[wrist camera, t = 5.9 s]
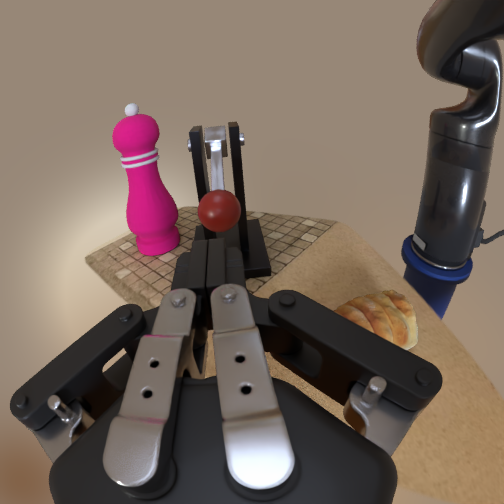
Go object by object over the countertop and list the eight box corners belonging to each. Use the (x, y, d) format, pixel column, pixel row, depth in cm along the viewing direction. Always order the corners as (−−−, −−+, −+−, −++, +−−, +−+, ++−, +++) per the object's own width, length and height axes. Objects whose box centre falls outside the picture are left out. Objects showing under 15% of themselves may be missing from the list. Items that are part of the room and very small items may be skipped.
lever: (243, 238, 25) (241, 210, 22) (201, 242, 24) (194, 215, 21) (232, 145, 32) (230, 120, 29) (201, 149, 32) (197, 124, 29)
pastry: (326, 388, 20) (333, 360, 18) (296, 329, 25) (298, 297, 23) (419, 349, 21) (433, 319, 19) (381, 303, 27) (389, 273, 25)
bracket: (271, 275, 32) (264, 129, 24) (190, 284, 32) (162, 141, 23) (258, 226, 42) (251, 117, 34) (197, 232, 42) (180, 125, 33)
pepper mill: (192, 234, 41) (171, 95, 31) (165, 261, 36) (131, 102, 25) (154, 229, 44) (130, 103, 33) (126, 254, 38) (91, 114, 27)
